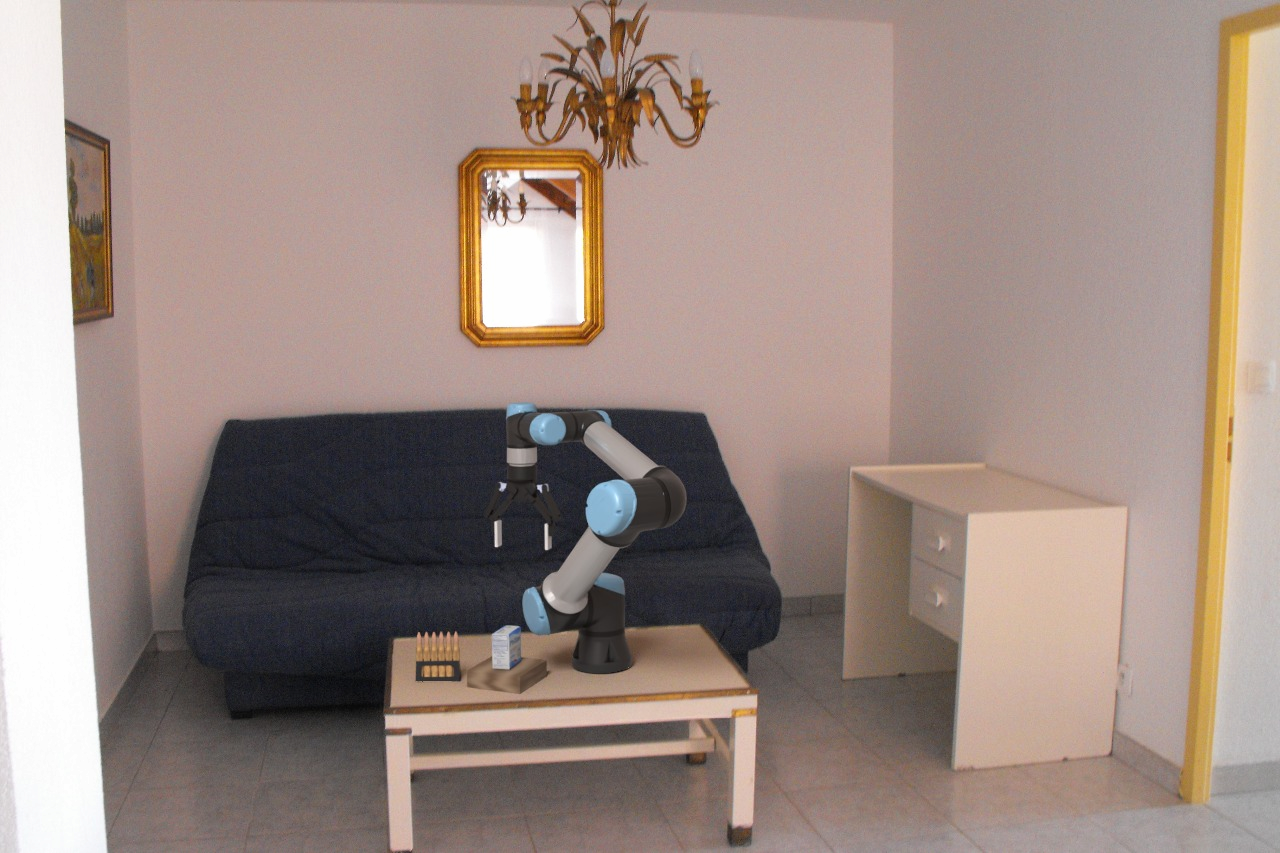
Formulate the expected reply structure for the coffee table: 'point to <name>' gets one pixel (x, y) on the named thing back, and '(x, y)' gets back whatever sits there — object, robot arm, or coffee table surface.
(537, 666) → the walnut base
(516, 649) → the medicine box
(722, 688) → the coffee table surface
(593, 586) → the robot arm
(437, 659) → the ammunition clip
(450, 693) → the coffee table surface
